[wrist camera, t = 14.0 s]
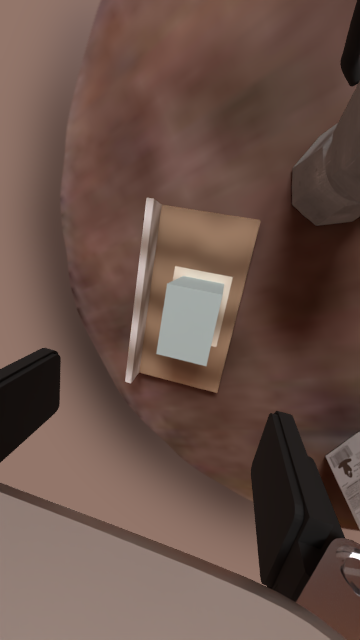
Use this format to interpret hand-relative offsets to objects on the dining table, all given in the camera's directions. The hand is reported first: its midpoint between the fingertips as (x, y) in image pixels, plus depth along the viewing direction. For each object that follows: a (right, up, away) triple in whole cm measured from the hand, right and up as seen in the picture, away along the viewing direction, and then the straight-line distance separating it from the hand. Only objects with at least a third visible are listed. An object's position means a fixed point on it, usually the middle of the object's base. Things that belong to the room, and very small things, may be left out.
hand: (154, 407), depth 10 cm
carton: (+3, +5, +19) cm, 20 cm away
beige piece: (+3, +6, +21) cm, 22 cm away
